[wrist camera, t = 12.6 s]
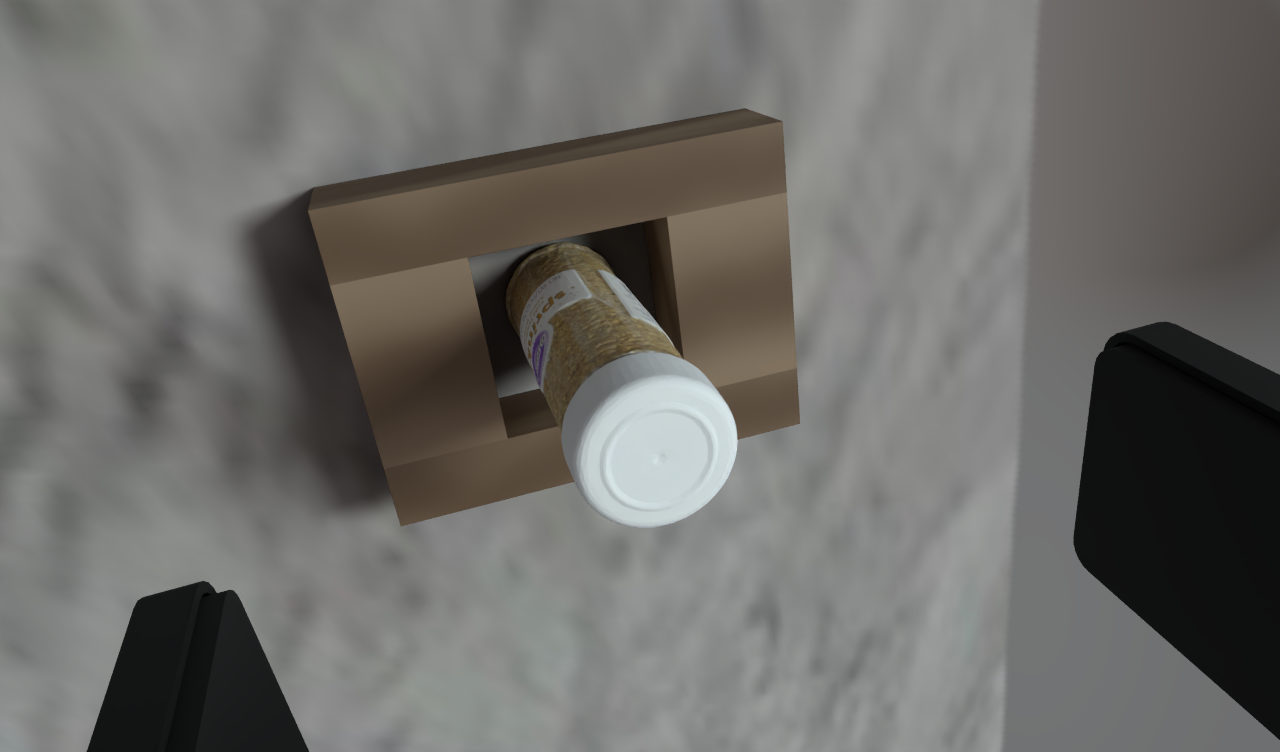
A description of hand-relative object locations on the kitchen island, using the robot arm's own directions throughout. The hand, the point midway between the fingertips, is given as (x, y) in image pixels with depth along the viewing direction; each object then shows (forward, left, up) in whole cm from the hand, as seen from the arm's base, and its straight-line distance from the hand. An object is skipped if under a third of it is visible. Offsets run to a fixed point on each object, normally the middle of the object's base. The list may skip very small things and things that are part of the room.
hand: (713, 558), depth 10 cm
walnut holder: (+6, +2, -26) cm, 26 cm away
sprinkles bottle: (+6, +2, -26) cm, 27 cm away
